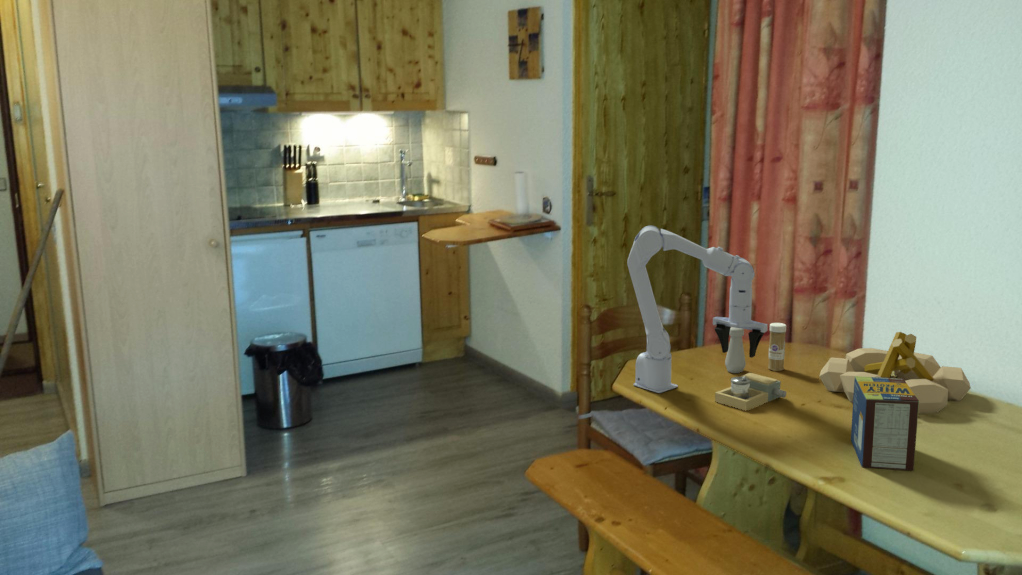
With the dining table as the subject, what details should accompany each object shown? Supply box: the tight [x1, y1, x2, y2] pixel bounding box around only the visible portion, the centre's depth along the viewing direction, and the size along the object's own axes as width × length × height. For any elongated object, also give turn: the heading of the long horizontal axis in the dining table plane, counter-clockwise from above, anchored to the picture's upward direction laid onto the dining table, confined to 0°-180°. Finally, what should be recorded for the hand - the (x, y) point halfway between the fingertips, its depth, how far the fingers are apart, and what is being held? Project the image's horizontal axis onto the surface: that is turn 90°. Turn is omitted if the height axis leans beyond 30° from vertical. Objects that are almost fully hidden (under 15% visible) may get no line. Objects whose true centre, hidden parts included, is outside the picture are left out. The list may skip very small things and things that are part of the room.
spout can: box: [730, 376, 750, 400], centre depth 220 cm, size 5×5×6 cm
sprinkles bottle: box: [767, 322, 787, 372], centre depth 246 cm, size 5×5×14 cm
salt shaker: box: [724, 327, 747, 374], centre depth 245 cm, size 6×6×13 cm
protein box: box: [850, 376, 919, 471], centre depth 185 cm, size 10×15×16 cm
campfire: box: [819, 331, 972, 415], centre depth 224 cm, size 35×34×17 cm
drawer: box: [714, 372, 787, 412], centre depth 221 cm, size 12×15×5 cm
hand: (738, 354), depth 228 cm, fingers open, 7 cm apart
